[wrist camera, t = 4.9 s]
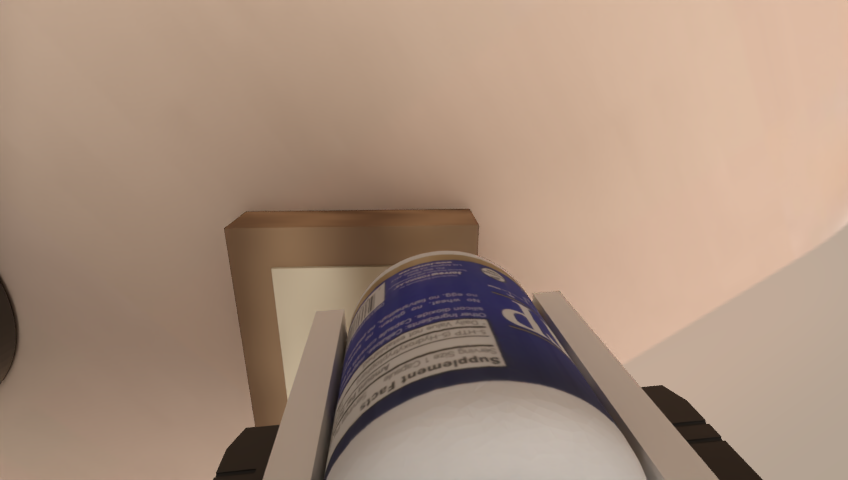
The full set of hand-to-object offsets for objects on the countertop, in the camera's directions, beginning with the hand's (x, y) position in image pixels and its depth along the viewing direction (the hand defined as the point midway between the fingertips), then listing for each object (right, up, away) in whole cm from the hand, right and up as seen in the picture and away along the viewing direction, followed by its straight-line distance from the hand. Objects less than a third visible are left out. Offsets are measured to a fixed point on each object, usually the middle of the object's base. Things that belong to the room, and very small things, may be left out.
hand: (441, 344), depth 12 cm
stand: (-4, -1, +13) cm, 14 cm away
